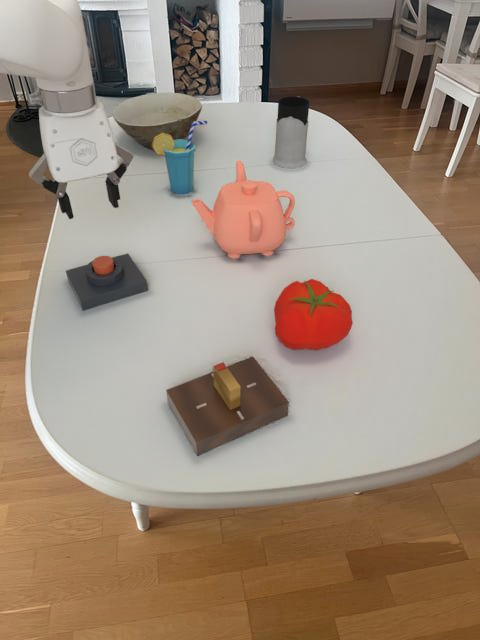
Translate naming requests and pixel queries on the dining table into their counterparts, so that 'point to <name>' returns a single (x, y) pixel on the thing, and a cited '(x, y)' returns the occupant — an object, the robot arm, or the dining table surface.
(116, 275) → the button box
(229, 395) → the lock knob
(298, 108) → the glass holder
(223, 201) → the teapot
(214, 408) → the plate
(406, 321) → the dining table surface
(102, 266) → the round orange push button
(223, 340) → the dining table surface
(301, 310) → the tomato
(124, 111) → the bowl
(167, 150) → the cup
